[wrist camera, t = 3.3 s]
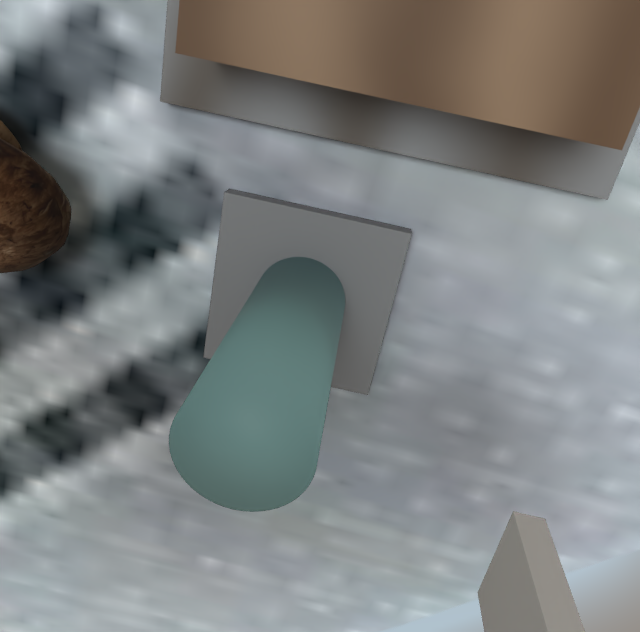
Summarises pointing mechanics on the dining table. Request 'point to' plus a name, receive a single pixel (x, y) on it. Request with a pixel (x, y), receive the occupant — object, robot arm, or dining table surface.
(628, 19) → the socket
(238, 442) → the peg
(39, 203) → the mushroom
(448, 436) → the dining table surface
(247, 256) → the pad
